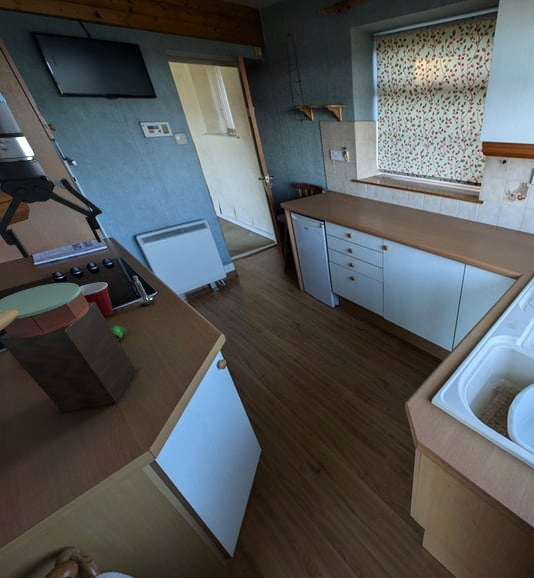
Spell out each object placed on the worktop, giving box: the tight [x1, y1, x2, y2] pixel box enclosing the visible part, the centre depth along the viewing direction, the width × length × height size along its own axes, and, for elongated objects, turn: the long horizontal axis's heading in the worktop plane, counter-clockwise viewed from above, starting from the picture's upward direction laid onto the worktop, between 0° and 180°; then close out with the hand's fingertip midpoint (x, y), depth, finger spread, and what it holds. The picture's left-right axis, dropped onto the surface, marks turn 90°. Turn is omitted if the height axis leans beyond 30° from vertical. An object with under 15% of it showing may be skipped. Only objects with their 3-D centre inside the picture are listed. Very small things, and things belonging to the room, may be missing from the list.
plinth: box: [0, 292, 137, 413], centre depth 75 cm, size 14×14×30 cm
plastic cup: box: [79, 281, 114, 319], centre depth 109 cm, size 11×11×12 cm
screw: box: [132, 275, 154, 306], centre depth 116 cm, size 13×5×5 cm
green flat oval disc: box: [0, 282, 81, 332], centre depth 62 cm, size 26×15×3 cm, turn 15°
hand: (65, 248), depth 75 cm, fingers open, 13 cm apart
